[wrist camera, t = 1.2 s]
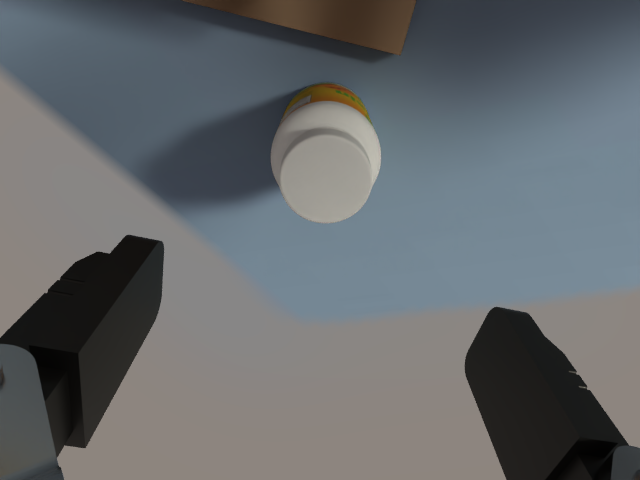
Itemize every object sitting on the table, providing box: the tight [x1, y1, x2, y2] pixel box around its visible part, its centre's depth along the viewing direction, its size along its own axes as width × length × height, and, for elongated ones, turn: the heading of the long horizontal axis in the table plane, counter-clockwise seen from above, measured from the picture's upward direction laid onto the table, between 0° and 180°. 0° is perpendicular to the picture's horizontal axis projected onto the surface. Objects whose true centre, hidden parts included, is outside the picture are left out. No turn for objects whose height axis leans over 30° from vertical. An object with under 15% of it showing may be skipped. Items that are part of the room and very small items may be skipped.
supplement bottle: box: [271, 82, 381, 223], centre depth 22 cm, size 5×5×10 cm
